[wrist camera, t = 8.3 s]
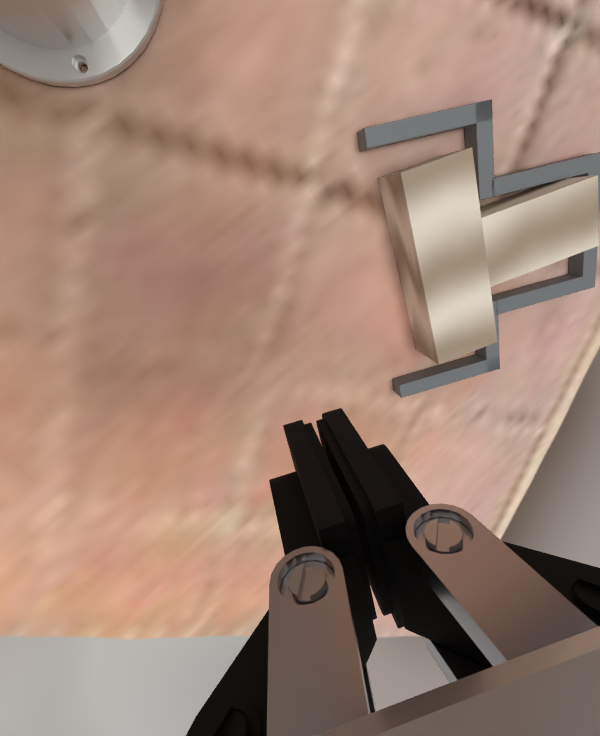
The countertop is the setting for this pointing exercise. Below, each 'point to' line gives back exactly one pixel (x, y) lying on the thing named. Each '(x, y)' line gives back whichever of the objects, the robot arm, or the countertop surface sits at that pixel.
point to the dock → (481, 140)
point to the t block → (475, 245)
